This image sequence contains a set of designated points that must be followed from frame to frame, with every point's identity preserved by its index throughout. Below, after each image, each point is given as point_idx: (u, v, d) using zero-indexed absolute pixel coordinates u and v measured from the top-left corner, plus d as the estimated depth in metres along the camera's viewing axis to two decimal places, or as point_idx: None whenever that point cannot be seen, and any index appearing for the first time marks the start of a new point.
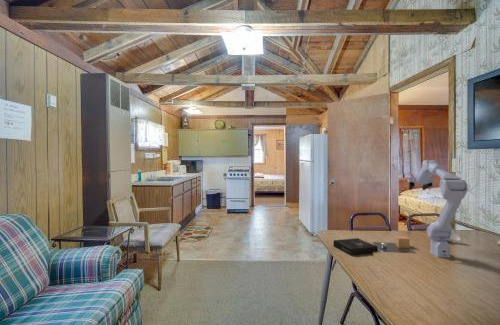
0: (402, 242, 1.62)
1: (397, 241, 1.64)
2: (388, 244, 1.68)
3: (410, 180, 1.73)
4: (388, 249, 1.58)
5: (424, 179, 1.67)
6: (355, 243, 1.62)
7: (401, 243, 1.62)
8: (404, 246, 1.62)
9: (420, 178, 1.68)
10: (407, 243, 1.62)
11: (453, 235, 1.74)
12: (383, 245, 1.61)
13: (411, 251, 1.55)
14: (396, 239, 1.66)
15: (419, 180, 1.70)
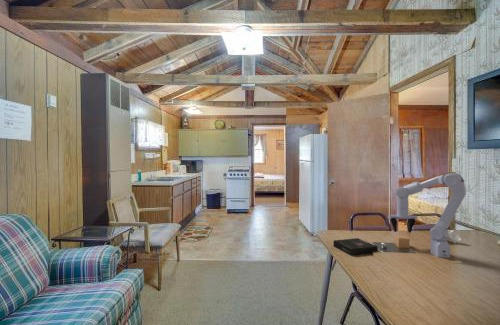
0: (402, 242, 1.62)
1: (397, 241, 1.64)
2: (388, 244, 1.68)
3: None
4: (388, 249, 1.58)
5: (403, 209, 1.62)
6: (355, 243, 1.62)
7: (401, 243, 1.62)
8: (404, 246, 1.62)
9: (399, 209, 1.63)
10: (407, 243, 1.62)
11: (454, 235, 1.74)
12: (383, 245, 1.61)
13: (411, 251, 1.55)
14: (396, 239, 1.66)
15: (399, 213, 1.63)
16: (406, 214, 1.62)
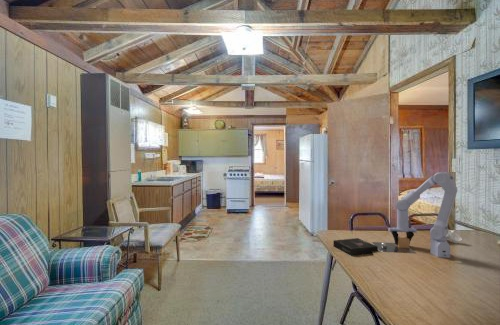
0: (402, 242, 1.62)
1: None
2: (388, 244, 1.68)
3: None
4: (388, 249, 1.58)
5: (403, 222, 1.62)
6: (355, 243, 1.62)
7: (401, 243, 1.62)
8: (404, 246, 1.62)
9: (399, 222, 1.63)
10: (407, 243, 1.62)
11: (455, 235, 1.73)
12: (383, 245, 1.61)
13: (411, 251, 1.55)
14: None
15: (399, 226, 1.63)
16: (406, 227, 1.62)
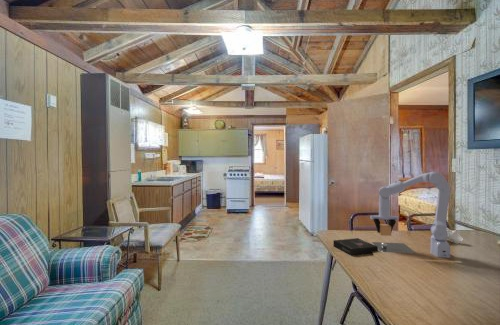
0: (384, 230, 1.59)
1: None
2: (388, 244, 1.68)
3: None
4: (388, 249, 1.58)
5: (385, 209, 1.59)
6: (355, 243, 1.62)
7: (383, 231, 1.60)
8: (386, 234, 1.59)
9: (381, 210, 1.60)
10: (389, 231, 1.59)
11: (456, 236, 1.73)
12: (383, 245, 1.61)
13: (411, 251, 1.55)
14: None
15: (381, 213, 1.60)
16: (388, 214, 1.59)
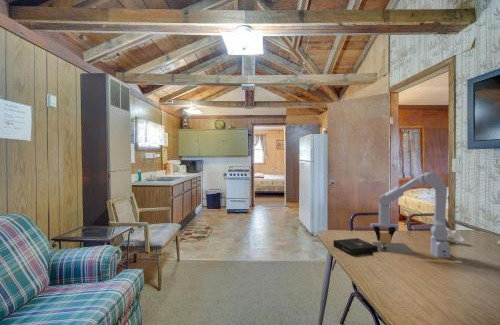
0: (384, 238, 1.60)
1: None
2: (388, 244, 1.68)
3: None
4: (388, 249, 1.58)
5: (384, 217, 1.59)
6: (355, 243, 1.62)
7: (382, 239, 1.60)
8: (386, 242, 1.59)
9: (381, 218, 1.61)
10: (389, 239, 1.59)
11: (456, 236, 1.73)
12: (383, 245, 1.61)
13: (411, 251, 1.55)
14: None
15: (381, 221, 1.61)
16: (387, 222, 1.59)
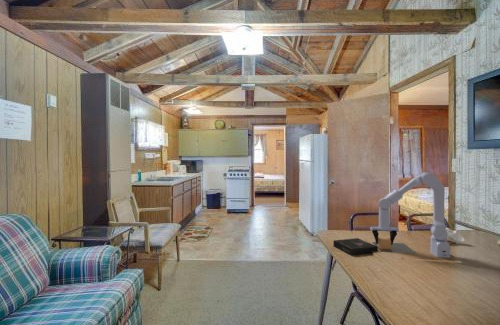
0: (384, 243, 1.60)
1: (379, 242, 1.62)
2: None
3: (372, 228, 1.63)
4: (388, 249, 1.58)
5: (384, 221, 1.59)
6: (355, 243, 1.62)
7: (382, 244, 1.60)
8: (386, 247, 1.59)
9: (380, 221, 1.61)
10: (389, 244, 1.59)
11: (457, 236, 1.72)
12: None
13: (411, 251, 1.55)
14: (378, 240, 1.63)
15: (381, 225, 1.61)
16: (387, 226, 1.59)
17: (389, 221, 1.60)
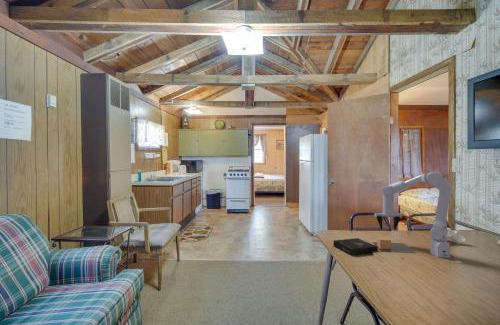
0: (384, 243, 1.60)
1: (379, 242, 1.62)
2: None
3: (377, 214, 1.70)
4: (388, 249, 1.58)
5: (388, 207, 1.67)
6: (355, 243, 1.62)
7: (382, 244, 1.60)
8: (386, 247, 1.59)
9: (385, 208, 1.68)
10: (389, 244, 1.59)
11: (458, 236, 1.72)
12: None
13: (411, 251, 1.55)
14: (378, 240, 1.63)
15: (385, 211, 1.68)
16: (391, 212, 1.67)
17: (393, 207, 1.67)
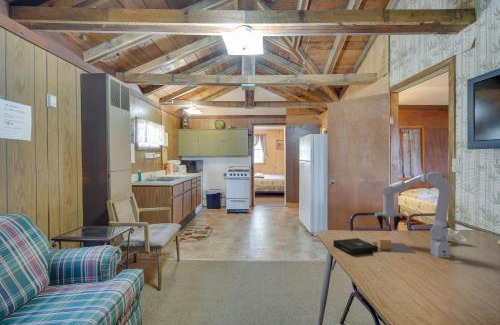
0: (384, 243, 1.60)
1: (379, 242, 1.62)
2: None
3: None
4: (388, 249, 1.58)
5: (389, 207, 1.67)
6: (355, 243, 1.62)
7: (382, 244, 1.60)
8: (386, 247, 1.59)
9: (385, 207, 1.69)
10: (389, 244, 1.59)
11: (459, 236, 1.72)
12: None
13: (411, 251, 1.55)
14: (378, 240, 1.63)
15: (385, 211, 1.69)
16: (392, 212, 1.67)
17: (393, 207, 1.68)
